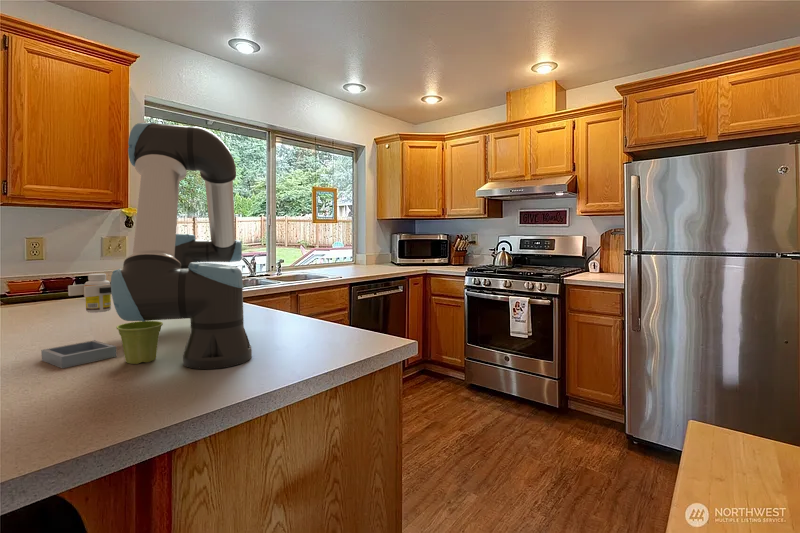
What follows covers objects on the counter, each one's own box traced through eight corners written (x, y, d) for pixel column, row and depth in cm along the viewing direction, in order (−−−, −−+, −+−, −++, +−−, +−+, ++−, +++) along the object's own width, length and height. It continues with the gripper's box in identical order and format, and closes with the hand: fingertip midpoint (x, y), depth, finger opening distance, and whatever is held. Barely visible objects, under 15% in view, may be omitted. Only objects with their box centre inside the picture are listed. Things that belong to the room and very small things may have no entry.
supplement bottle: (109, 309, 117) (108, 272, 116) (112, 311, 113) (111, 274, 112) (84, 311, 113) (83, 273, 112) (87, 313, 109) (85, 275, 108)
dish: (116, 356, 102) (116, 346, 102) (62, 368, 92) (61, 357, 92) (95, 350, 107) (94, 340, 107) (41, 360, 98) (41, 349, 98)
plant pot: (172, 355, 103) (171, 321, 102) (145, 367, 94) (144, 329, 93) (137, 354, 104) (136, 320, 103) (107, 365, 95) (106, 328, 94)
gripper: (179, 296, 126) (101, 307, 104) (136, 294, 133) (54, 303, 111) (179, 272, 126) (100, 278, 104) (136, 270, 132) (53, 275, 111)
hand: (77, 291), depth 108 cm, fingers closed on supplement bottle, 5 cm apart
